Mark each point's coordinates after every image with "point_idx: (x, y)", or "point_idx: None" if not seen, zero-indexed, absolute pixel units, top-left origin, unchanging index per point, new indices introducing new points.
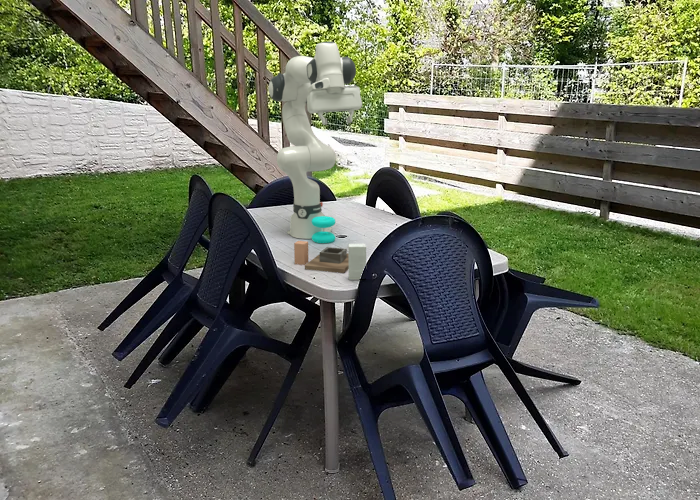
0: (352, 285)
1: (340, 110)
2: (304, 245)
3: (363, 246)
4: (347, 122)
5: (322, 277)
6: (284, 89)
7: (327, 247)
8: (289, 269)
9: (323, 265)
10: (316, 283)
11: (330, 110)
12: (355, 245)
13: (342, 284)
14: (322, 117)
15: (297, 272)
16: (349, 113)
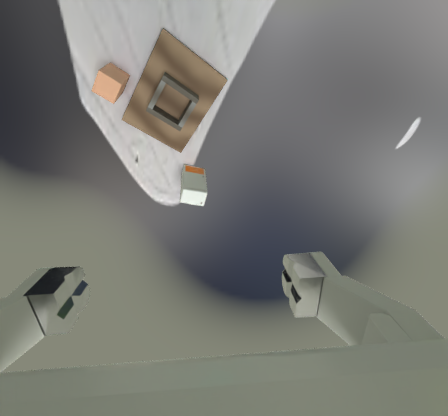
0: None
1: (270, 372)
2: (114, 102)
3: (200, 205)
4: (283, 262)
5: (148, 159)
6: None
7: (164, 78)
8: (96, 111)
9: (152, 128)
10: (138, 178)
11: (71, 403)
12: (190, 199)
13: (170, 187)
14: (8, 353)
15: (111, 130)
16: (377, 313)
